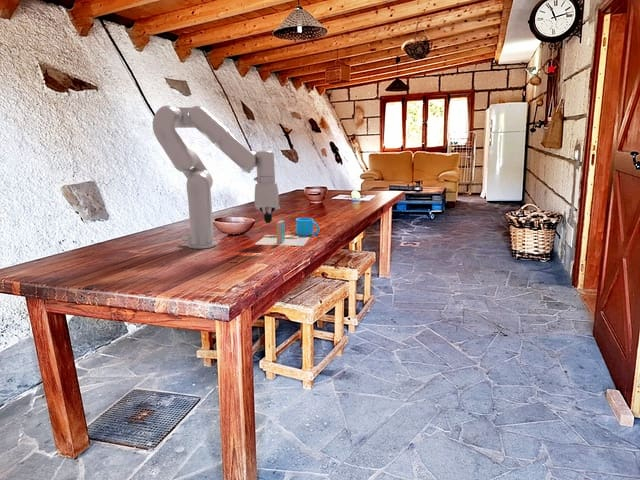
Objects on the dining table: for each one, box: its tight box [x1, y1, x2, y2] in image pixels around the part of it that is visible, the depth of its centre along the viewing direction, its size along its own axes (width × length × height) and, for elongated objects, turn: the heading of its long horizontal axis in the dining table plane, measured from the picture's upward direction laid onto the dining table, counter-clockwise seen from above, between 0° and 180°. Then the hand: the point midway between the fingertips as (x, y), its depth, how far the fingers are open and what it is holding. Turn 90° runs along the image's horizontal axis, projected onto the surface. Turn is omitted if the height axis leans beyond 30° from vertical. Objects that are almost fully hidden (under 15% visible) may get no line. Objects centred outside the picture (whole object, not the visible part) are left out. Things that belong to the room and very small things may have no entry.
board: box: [255, 236, 311, 247], centre depth 207 cm, size 21×18×1 cm
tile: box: [276, 219, 286, 244], centre depth 203 cm, size 2×7×9 cm, turn 172°
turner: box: [263, 234, 300, 239], centre depth 214 cm, size 16×5×1 cm, turn 82°
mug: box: [295, 217, 321, 236], centre depth 221 cm, size 12×8×8 cm
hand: (268, 222), depth 203 cm, fingers closed
